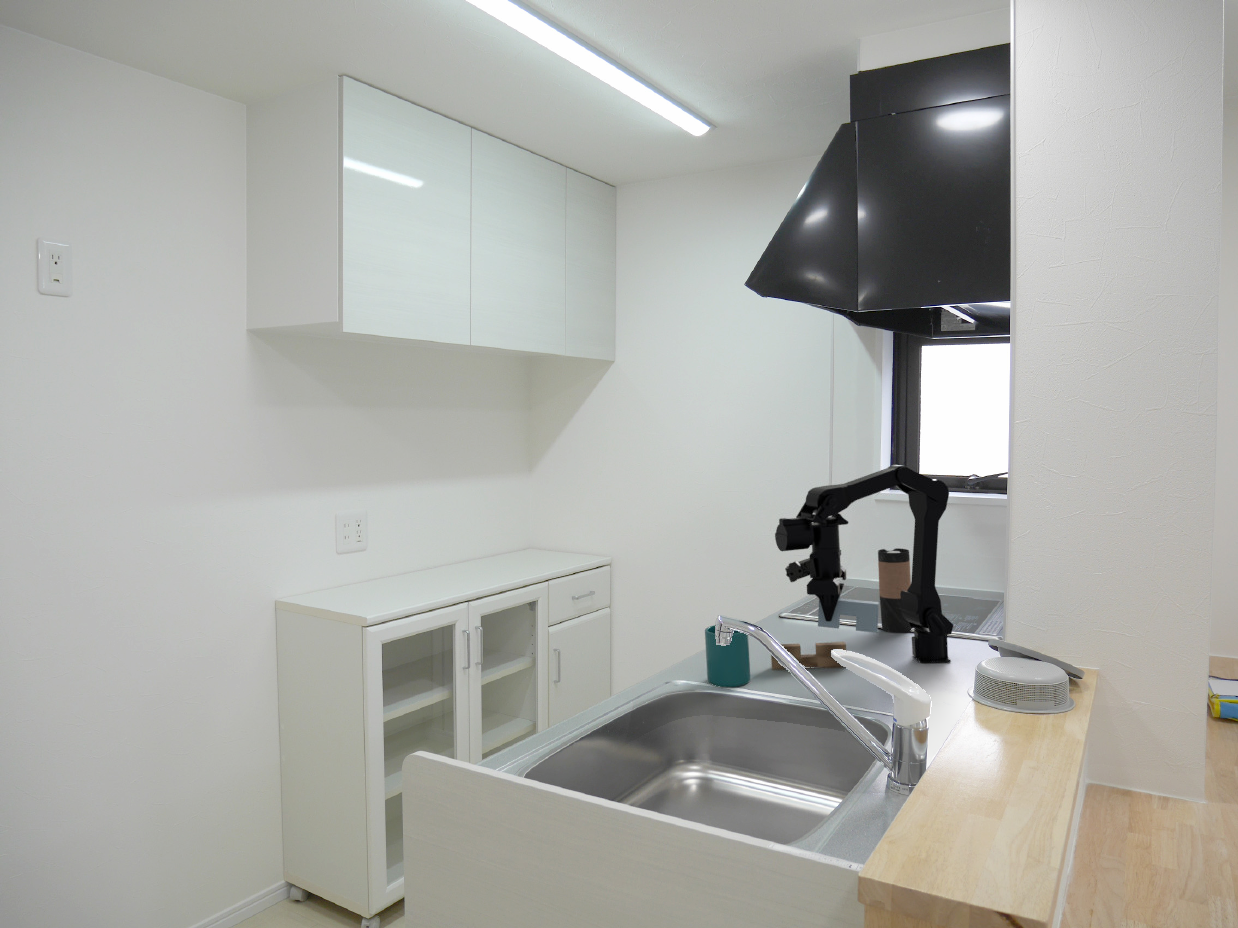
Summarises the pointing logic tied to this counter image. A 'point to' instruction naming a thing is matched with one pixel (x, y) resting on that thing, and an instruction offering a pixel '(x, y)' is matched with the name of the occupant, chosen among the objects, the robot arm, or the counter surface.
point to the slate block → (853, 614)
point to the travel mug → (893, 588)
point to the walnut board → (813, 655)
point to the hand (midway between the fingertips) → (829, 619)
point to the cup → (727, 660)
